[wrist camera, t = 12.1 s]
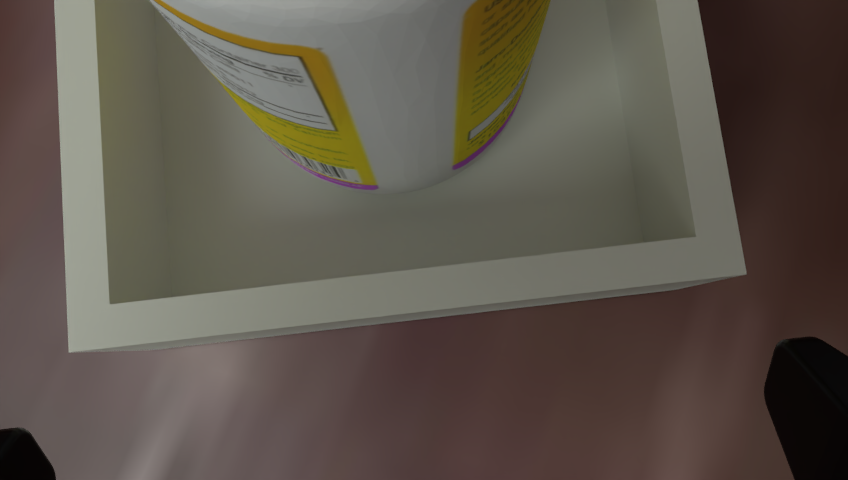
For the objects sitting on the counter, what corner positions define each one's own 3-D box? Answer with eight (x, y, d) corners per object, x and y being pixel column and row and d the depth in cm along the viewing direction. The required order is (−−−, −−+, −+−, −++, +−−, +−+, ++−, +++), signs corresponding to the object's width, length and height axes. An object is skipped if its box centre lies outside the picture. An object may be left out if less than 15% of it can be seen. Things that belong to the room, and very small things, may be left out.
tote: (674, 289, 17) (746, 274, 13) (154, 350, 17) (68, 352, 13) (597, -182, 19) (639, -321, 15) (127, -126, 19) (43, -250, 15)
